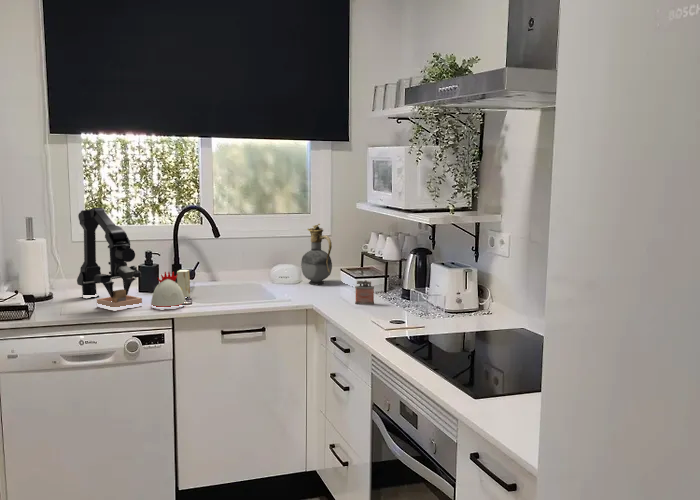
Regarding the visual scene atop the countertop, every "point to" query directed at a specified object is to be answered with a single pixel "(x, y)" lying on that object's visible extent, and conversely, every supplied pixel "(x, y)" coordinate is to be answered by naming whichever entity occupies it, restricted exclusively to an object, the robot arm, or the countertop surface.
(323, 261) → the pitcher
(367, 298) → the lighter
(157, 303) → the grey crested dome
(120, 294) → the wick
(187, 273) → the skincare box
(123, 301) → the brown square tray
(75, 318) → the countertop surface
